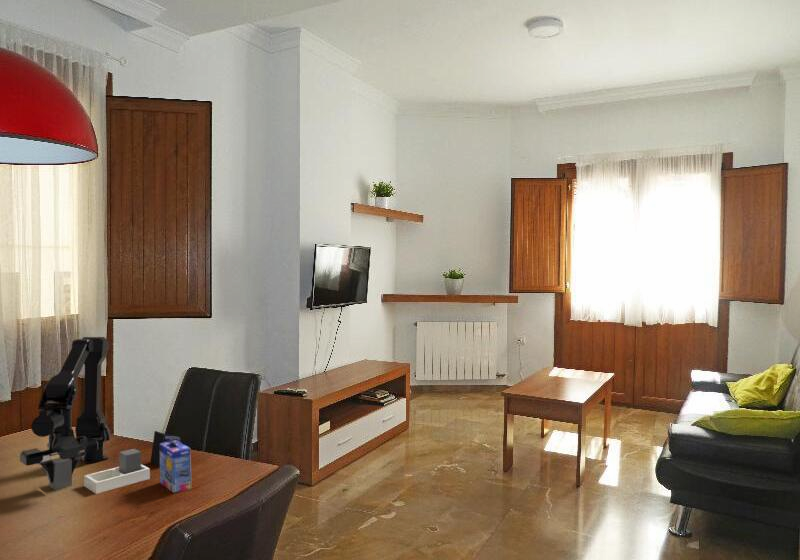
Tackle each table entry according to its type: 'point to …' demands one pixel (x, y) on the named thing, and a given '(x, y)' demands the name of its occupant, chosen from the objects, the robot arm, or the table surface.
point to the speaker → (155, 449)
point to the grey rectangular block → (61, 473)
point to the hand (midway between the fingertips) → (60, 480)
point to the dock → (114, 479)
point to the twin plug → (129, 461)
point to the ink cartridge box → (175, 465)
